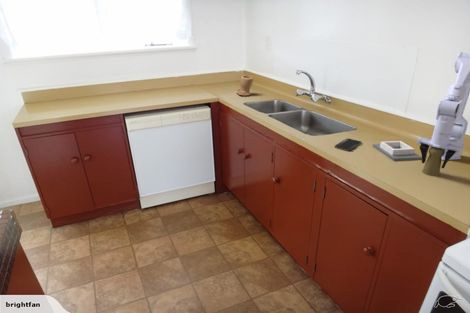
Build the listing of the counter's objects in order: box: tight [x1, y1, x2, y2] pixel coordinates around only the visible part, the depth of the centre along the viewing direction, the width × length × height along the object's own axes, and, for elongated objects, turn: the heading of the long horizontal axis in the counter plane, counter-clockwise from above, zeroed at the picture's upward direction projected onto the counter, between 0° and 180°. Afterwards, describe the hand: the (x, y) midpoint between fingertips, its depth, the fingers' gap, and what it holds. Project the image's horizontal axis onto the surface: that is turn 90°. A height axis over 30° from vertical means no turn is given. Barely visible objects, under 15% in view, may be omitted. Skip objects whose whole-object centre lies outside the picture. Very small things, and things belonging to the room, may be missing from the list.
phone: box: [334, 138, 363, 152], centre depth 150 cm, size 8×1×15 cm
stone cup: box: [235, 75, 254, 97], centre depth 249 cm, size 15×12×15 cm
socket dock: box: [372, 140, 422, 162], centre depth 142 cm, size 13×17×4 cm
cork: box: [421, 146, 445, 177], centre depth 122 cm, size 6×6×11 cm
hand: (433, 164), depth 122 cm, fingers open, 6 cm apart
